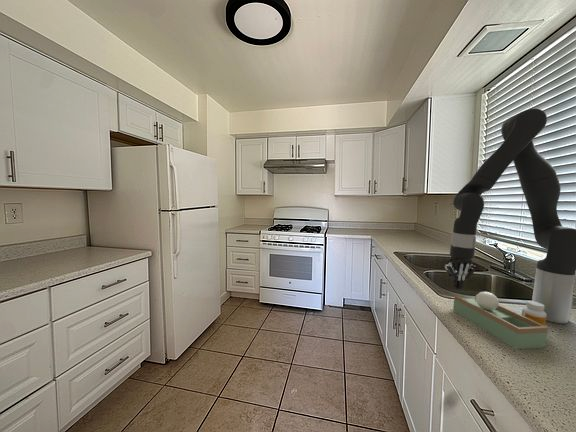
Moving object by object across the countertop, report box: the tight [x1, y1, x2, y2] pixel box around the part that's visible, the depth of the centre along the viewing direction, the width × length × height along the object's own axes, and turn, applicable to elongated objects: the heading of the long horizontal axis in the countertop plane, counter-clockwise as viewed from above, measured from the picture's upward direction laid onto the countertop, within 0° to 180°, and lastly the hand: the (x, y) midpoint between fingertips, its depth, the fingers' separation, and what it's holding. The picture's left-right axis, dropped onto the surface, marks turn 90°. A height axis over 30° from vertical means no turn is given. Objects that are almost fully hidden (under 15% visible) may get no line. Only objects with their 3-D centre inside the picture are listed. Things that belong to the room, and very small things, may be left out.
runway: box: [452, 294, 549, 350], centre depth 78 cm, size 10×22×6 cm, turn 8°
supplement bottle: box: [521, 300, 547, 326], centre depth 76 cm, size 5×5×10 cm
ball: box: [476, 291, 500, 310], centre depth 81 cm, size 6×6×6 cm
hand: (457, 288), depth 92 cm, fingers closed
